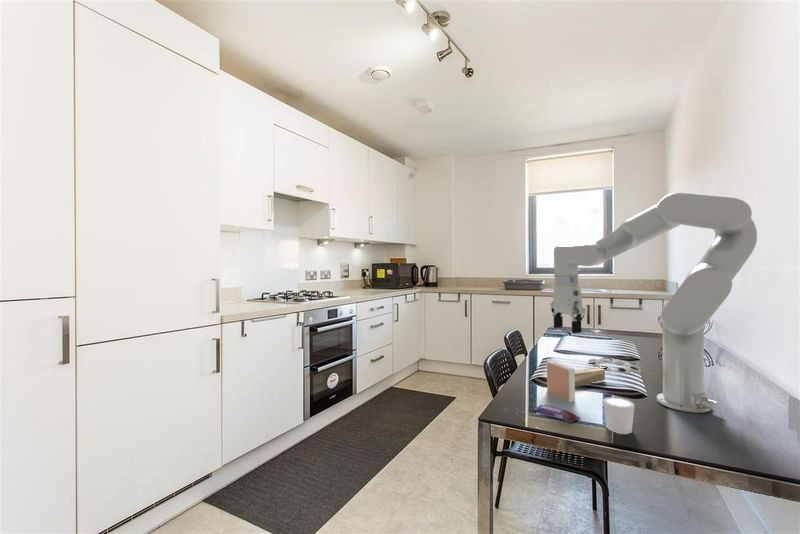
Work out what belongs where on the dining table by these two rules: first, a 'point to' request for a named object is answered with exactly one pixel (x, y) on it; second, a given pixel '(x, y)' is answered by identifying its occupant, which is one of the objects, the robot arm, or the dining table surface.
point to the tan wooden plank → (589, 376)
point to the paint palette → (628, 366)
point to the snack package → (557, 413)
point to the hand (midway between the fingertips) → (567, 330)
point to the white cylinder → (618, 414)
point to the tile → (561, 380)
